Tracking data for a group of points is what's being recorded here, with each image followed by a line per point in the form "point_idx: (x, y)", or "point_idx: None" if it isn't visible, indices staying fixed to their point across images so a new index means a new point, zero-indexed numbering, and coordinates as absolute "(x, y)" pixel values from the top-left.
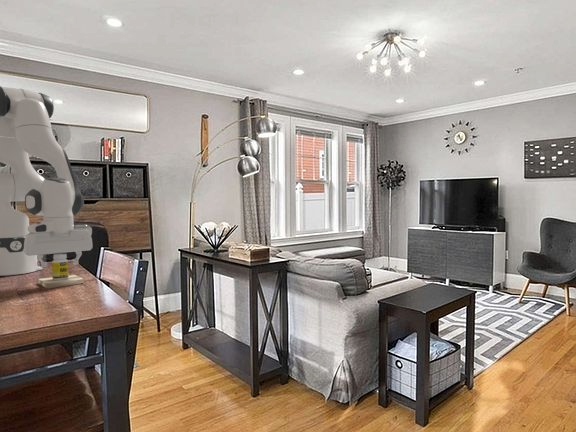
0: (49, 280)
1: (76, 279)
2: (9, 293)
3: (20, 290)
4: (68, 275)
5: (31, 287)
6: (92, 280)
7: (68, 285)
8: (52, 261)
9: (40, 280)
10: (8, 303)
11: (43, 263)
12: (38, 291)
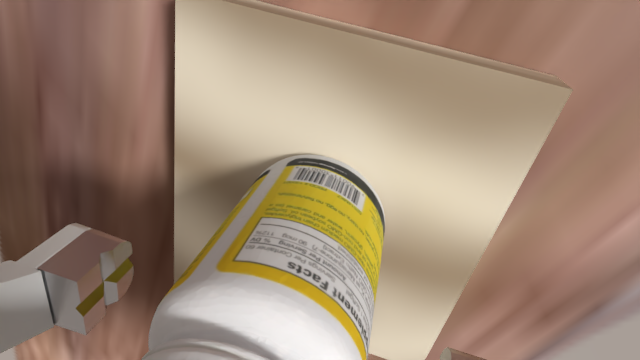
0: (226, 191)
1: (377, 340)
2: (9, 187)
3: (60, 163)
4: (477, 110)
5: (125, 133)
6: (539, 318)
7: None
8: (149, 338)
9: (177, 96)
10: (25, 351)
11: (49, 317)
12: (141, 281)
